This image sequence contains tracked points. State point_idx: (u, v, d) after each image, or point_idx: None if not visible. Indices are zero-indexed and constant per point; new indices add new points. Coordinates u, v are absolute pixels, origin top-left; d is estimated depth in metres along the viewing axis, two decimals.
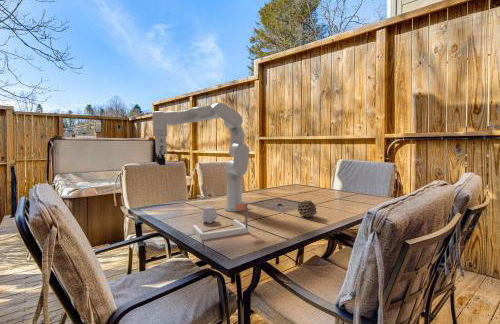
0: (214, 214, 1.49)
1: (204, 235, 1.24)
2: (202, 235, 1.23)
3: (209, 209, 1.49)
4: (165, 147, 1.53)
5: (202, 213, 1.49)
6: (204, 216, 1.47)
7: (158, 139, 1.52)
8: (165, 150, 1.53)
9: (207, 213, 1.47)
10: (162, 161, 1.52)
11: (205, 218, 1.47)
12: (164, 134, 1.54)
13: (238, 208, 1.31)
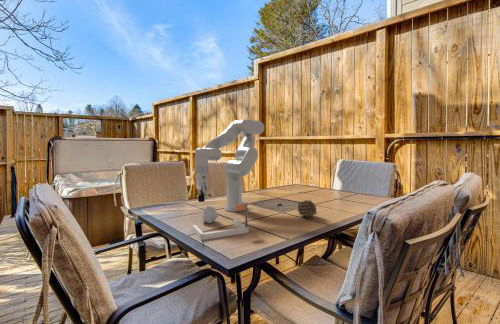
0: (214, 214, 1.49)
1: (204, 235, 1.24)
2: (202, 235, 1.23)
3: (209, 209, 1.49)
4: (207, 183, 1.57)
5: (202, 213, 1.49)
6: (204, 216, 1.47)
7: (201, 176, 1.55)
8: (207, 186, 1.57)
9: (207, 213, 1.47)
10: (202, 198, 1.59)
11: (205, 218, 1.47)
12: (206, 170, 1.58)
13: (238, 208, 1.31)
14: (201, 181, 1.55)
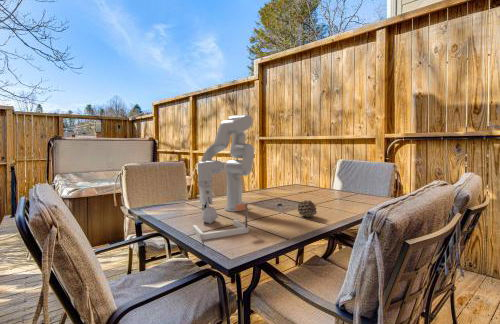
0: (214, 214, 1.48)
1: (204, 235, 1.24)
2: (202, 235, 1.23)
3: (209, 209, 1.48)
4: (211, 198, 1.52)
5: (202, 213, 1.48)
6: (204, 216, 1.47)
7: (204, 190, 1.51)
8: (211, 201, 1.52)
9: (207, 213, 1.47)
10: None
11: (205, 218, 1.47)
12: (209, 185, 1.53)
13: (238, 208, 1.31)
14: (205, 196, 1.51)
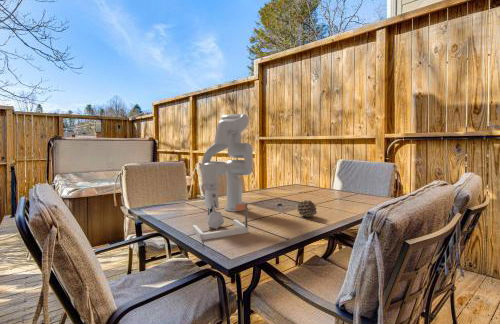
0: (220, 219, 1.39)
1: (204, 235, 1.24)
2: (202, 235, 1.23)
3: (215, 213, 1.39)
4: (217, 202, 1.43)
5: (208, 218, 1.39)
6: (210, 221, 1.37)
7: (210, 194, 1.42)
8: (217, 205, 1.43)
9: (213, 218, 1.37)
10: None
11: (211, 223, 1.37)
12: (216, 187, 1.44)
13: (238, 208, 1.31)
14: (211, 200, 1.42)
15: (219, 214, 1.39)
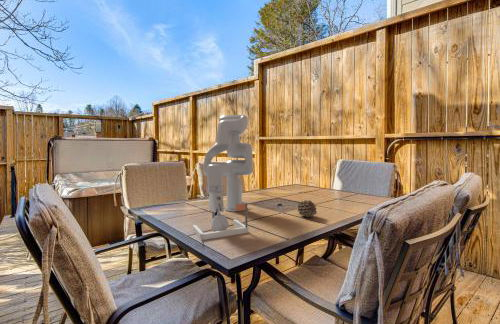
0: (225, 223, 1.32)
1: (204, 235, 1.24)
2: (202, 235, 1.23)
3: (219, 217, 1.32)
4: (222, 205, 1.37)
5: (212, 221, 1.33)
6: (214, 225, 1.31)
7: (215, 196, 1.35)
8: (222, 208, 1.37)
9: (217, 222, 1.31)
10: None
11: (215, 227, 1.31)
12: (220, 190, 1.38)
13: (238, 208, 1.31)
14: (215, 203, 1.35)
15: (224, 218, 1.33)
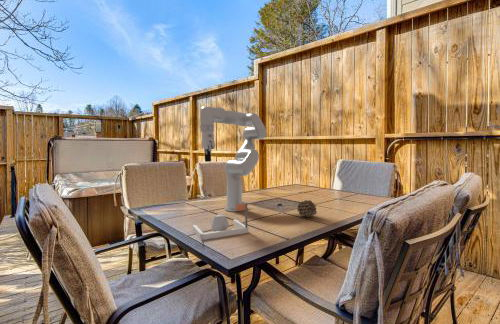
0: (225, 223, 1.32)
1: (204, 235, 1.24)
2: (202, 235, 1.23)
3: (219, 217, 1.32)
4: (213, 142, 1.55)
5: (212, 222, 1.33)
6: (214, 225, 1.31)
7: (207, 134, 1.53)
8: (213, 145, 1.55)
9: (217, 222, 1.31)
10: (208, 158, 1.58)
11: (215, 227, 1.31)
12: (212, 129, 1.56)
13: (238, 208, 1.31)
14: (207, 139, 1.53)
15: (224, 218, 1.32)
